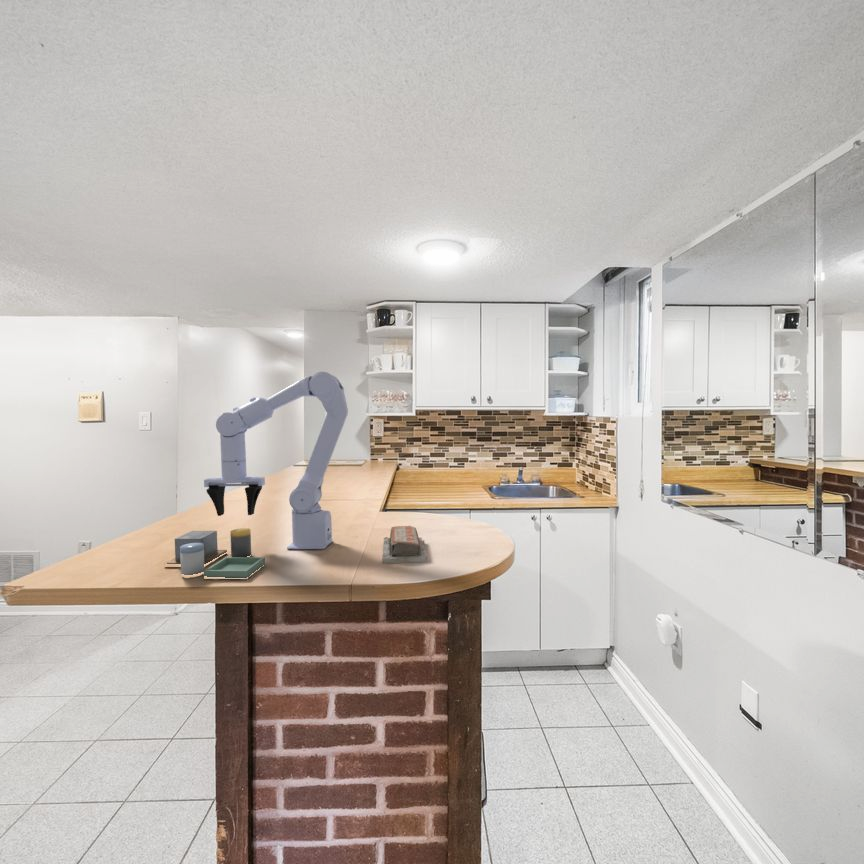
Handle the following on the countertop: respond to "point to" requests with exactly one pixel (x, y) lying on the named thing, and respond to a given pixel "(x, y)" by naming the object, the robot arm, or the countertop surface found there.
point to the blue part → (192, 558)
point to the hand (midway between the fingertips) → (235, 514)
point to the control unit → (198, 537)
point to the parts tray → (235, 567)
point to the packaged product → (403, 546)
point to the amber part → (240, 542)
